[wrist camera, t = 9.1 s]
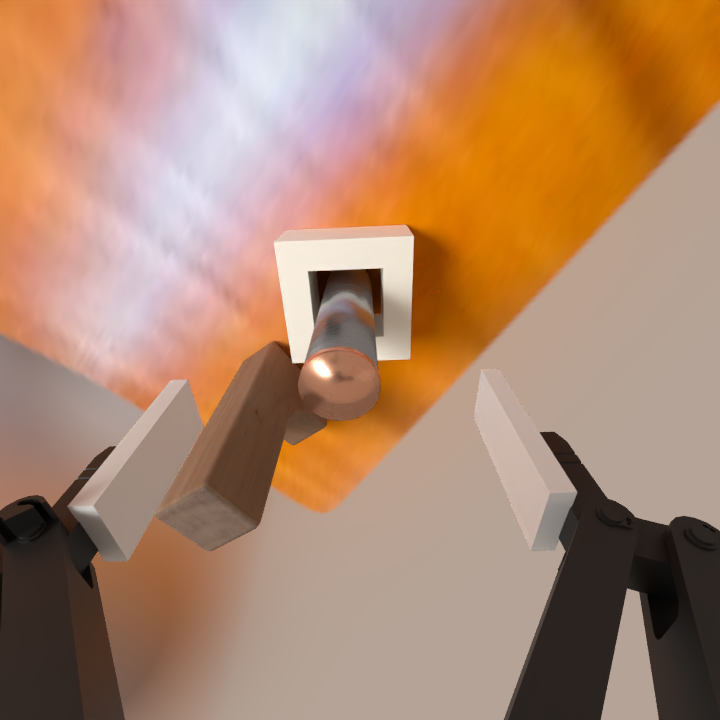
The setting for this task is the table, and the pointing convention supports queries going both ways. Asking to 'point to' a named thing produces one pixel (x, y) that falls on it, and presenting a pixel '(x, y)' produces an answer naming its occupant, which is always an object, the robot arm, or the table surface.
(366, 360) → the peg
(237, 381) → the wooden block
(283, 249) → the socket
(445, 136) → the table surface
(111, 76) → the table surface
